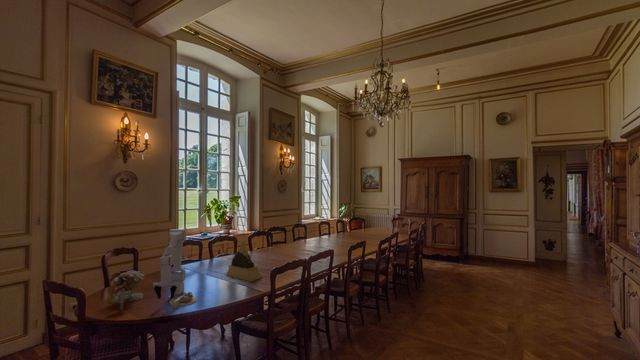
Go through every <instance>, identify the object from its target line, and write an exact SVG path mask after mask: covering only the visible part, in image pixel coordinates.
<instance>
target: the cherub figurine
mask: <svg viewBox="0 0 640 360" xmlns="http://www.w3.org/2000/svg"><path fill="white" fill-rule="evenodd" d="M144 277H145V275H144V274H143V273H142V272H141V271H136V270H128V271H126V272H122V273H120V274H119V276H116V277H114V278H113V280H112V282H113V284H114V285H115V286H116V287H115V288H114V291H116V292H117V293H116V296H118V295H119V293H120V292H125V291H132V294H131V295H130V298H128V299H124V302H123V304H124V303H125V304H126V303H135V302H137V301H139V300H143V298H144V295H145V294H144V293H141V292H134V293H133V288H135V287H137V284H138V285H139V284H141V281H144V279H145V278H144ZM126 295H127V294H125V296H126ZM115 299H119V298H115ZM109 303H112V304H120V303H119V301H114V300H113V299H111V300H109Z"/></svg>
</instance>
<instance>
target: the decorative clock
mask: <svg viewBox="0 0 640 360" xmlns="http://www.w3.org/2000/svg"><path fill="white" fill-rule="evenodd" d="M246 243H247V240H246V239H243V240H242V242H241V243H240V245H239V251H237V252H235V254H234V256H233V258H232V260H231V263H230V264H229V265H228V270H227V271H226V274H225V276H227V277H231V278H235V279H241V280H243V281H247V282H253V281H256V280H258V279H261V278H263V274H262V273H260V271H259V269H258V265H255V263H254V261H253V260H252V256H251V254H250V253H249V249H246Z"/></svg>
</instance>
